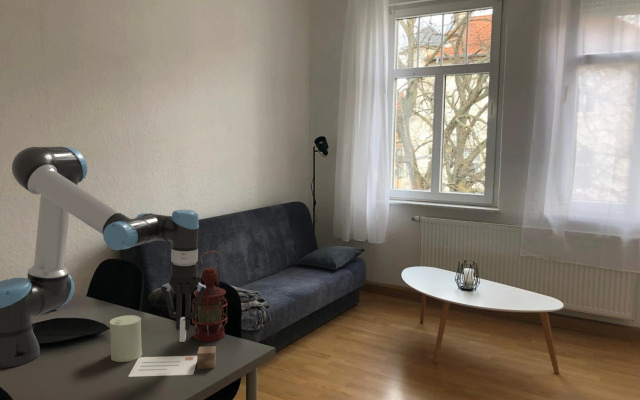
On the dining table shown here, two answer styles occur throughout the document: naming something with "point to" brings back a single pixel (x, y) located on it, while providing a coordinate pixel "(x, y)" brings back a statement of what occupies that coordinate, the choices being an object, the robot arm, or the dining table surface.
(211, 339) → the lantern
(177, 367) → the letter
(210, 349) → the block
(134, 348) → the can
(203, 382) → the dining table surface
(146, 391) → the dining table surface
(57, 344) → the dining table surface
